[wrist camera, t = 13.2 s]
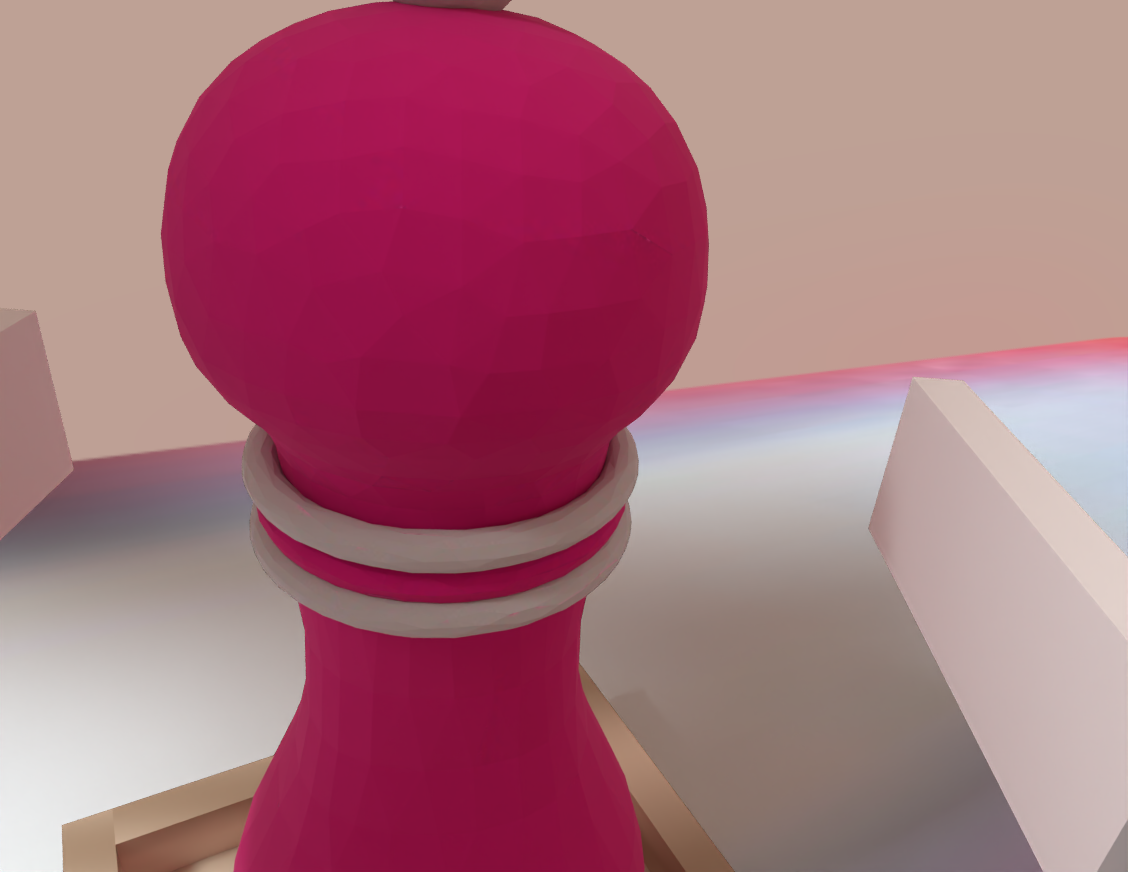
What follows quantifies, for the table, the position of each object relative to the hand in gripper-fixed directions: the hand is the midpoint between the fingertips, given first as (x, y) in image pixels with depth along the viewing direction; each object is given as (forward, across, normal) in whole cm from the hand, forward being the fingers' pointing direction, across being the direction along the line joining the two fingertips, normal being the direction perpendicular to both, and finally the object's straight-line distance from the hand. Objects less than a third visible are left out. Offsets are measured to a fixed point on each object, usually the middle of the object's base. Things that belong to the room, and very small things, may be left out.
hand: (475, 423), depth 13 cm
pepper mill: (-2, 0, -13) cm, 13 cm away
